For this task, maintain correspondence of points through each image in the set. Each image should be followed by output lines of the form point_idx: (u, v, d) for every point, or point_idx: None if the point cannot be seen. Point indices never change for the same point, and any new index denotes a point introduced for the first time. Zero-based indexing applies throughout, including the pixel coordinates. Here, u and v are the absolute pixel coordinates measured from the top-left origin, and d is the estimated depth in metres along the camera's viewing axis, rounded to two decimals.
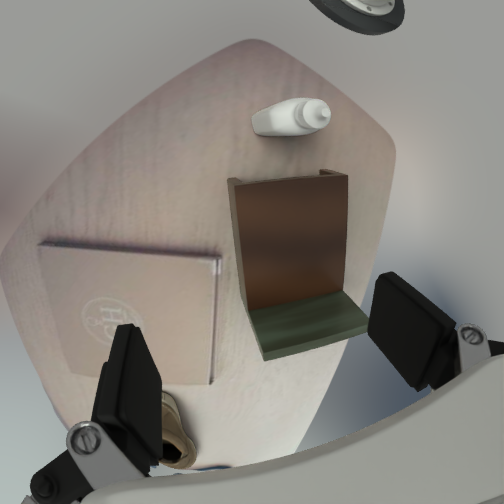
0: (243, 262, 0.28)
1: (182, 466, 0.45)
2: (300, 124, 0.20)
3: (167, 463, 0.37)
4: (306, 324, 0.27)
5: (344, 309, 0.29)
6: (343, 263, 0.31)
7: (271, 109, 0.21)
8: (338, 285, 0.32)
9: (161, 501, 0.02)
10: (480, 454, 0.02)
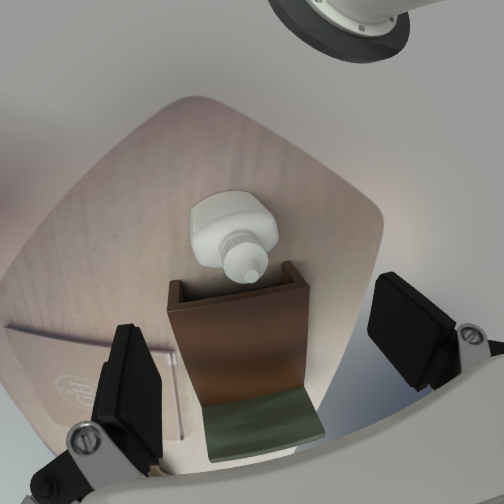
0: (189, 374, 0.24)
1: None
2: None
3: None
4: (255, 430, 0.24)
5: (299, 413, 0.25)
6: (303, 366, 0.27)
7: (193, 237, 0.17)
8: (298, 383, 0.28)
9: (161, 501, 0.02)
10: (480, 454, 0.02)
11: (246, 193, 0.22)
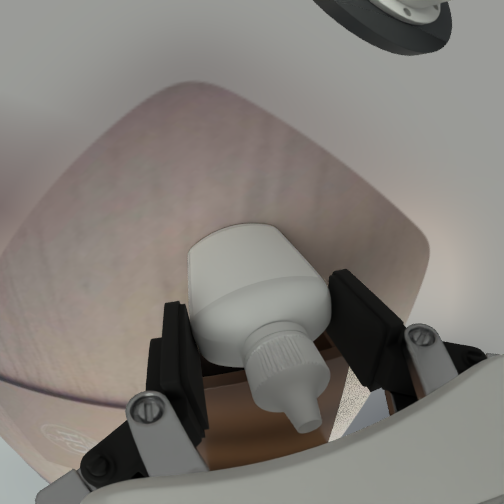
0: None
1: None
2: None
3: None
4: None
5: None
6: (330, 428, 0.20)
7: (195, 324, 0.10)
8: (322, 442, 0.21)
9: (161, 501, 0.02)
10: (480, 454, 0.02)
11: (270, 229, 0.15)
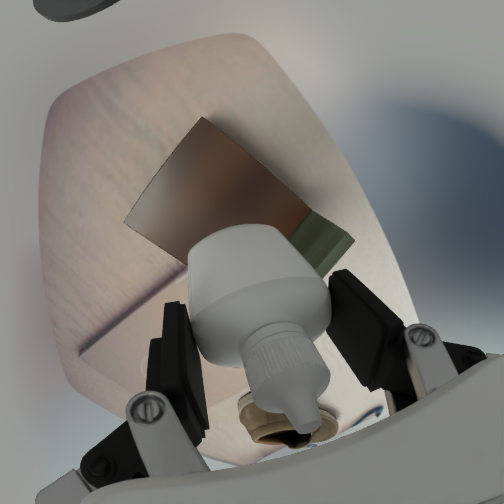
0: None
1: (329, 435, 0.50)
2: None
3: (302, 446, 0.41)
4: None
5: (315, 234, 0.24)
6: (285, 188, 0.26)
7: (195, 325, 0.10)
8: (302, 210, 0.27)
9: (161, 501, 0.02)
10: (480, 454, 0.02)
11: (270, 230, 0.15)
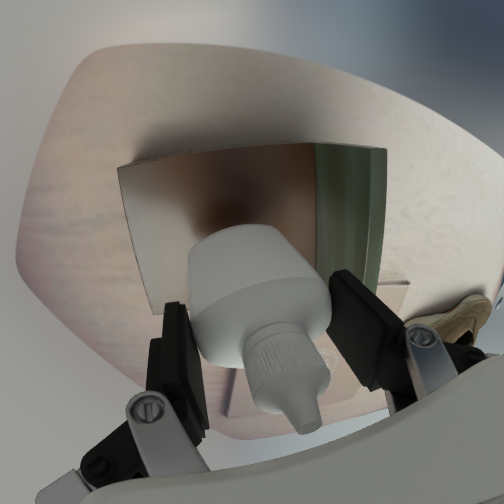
0: None
1: (487, 316, 0.39)
2: None
3: None
4: (343, 248, 0.17)
5: (338, 172, 0.16)
6: (264, 148, 0.18)
7: (195, 325, 0.10)
8: (304, 152, 0.19)
9: (161, 501, 0.02)
10: (480, 454, 0.02)
11: (270, 230, 0.15)
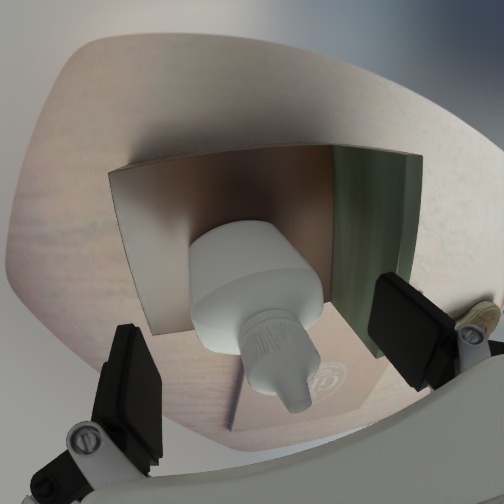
0: None
1: (496, 323, 0.36)
2: None
3: None
4: (366, 266, 0.15)
5: (363, 180, 0.14)
6: (278, 150, 0.16)
7: (194, 312, 0.10)
8: (321, 155, 0.16)
9: (161, 501, 0.02)
10: (480, 454, 0.02)
11: (267, 226, 0.16)
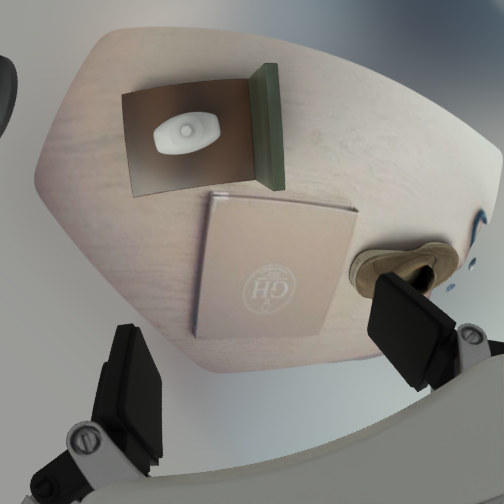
0: (201, 185, 0.30)
1: (453, 263, 0.46)
2: None
3: (432, 284, 0.40)
4: (262, 133, 0.25)
5: (256, 87, 0.23)
6: (214, 82, 0.25)
7: (155, 130, 0.20)
8: (240, 84, 0.26)
9: (161, 501, 0.02)
10: (480, 454, 0.02)
11: None
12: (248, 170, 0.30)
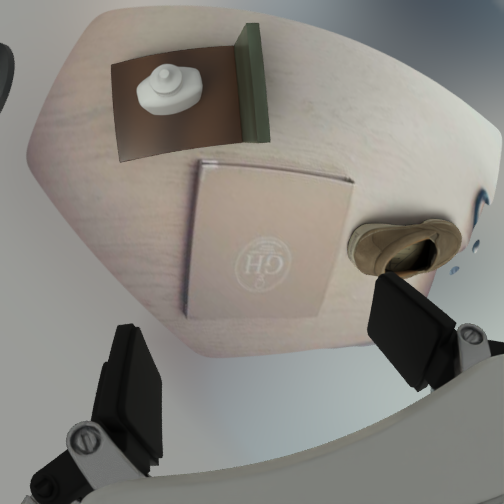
0: (187, 148, 0.28)
1: (456, 242, 0.44)
2: (157, 93, 0.17)
3: (435, 259, 0.38)
4: (246, 91, 0.23)
5: (240, 49, 0.22)
6: (200, 49, 0.24)
7: (138, 85, 0.18)
8: (226, 51, 0.24)
9: (161, 501, 0.02)
10: (480, 454, 0.02)
11: None
12: (235, 132, 0.28)
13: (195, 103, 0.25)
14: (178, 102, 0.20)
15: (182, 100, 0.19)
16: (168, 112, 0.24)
